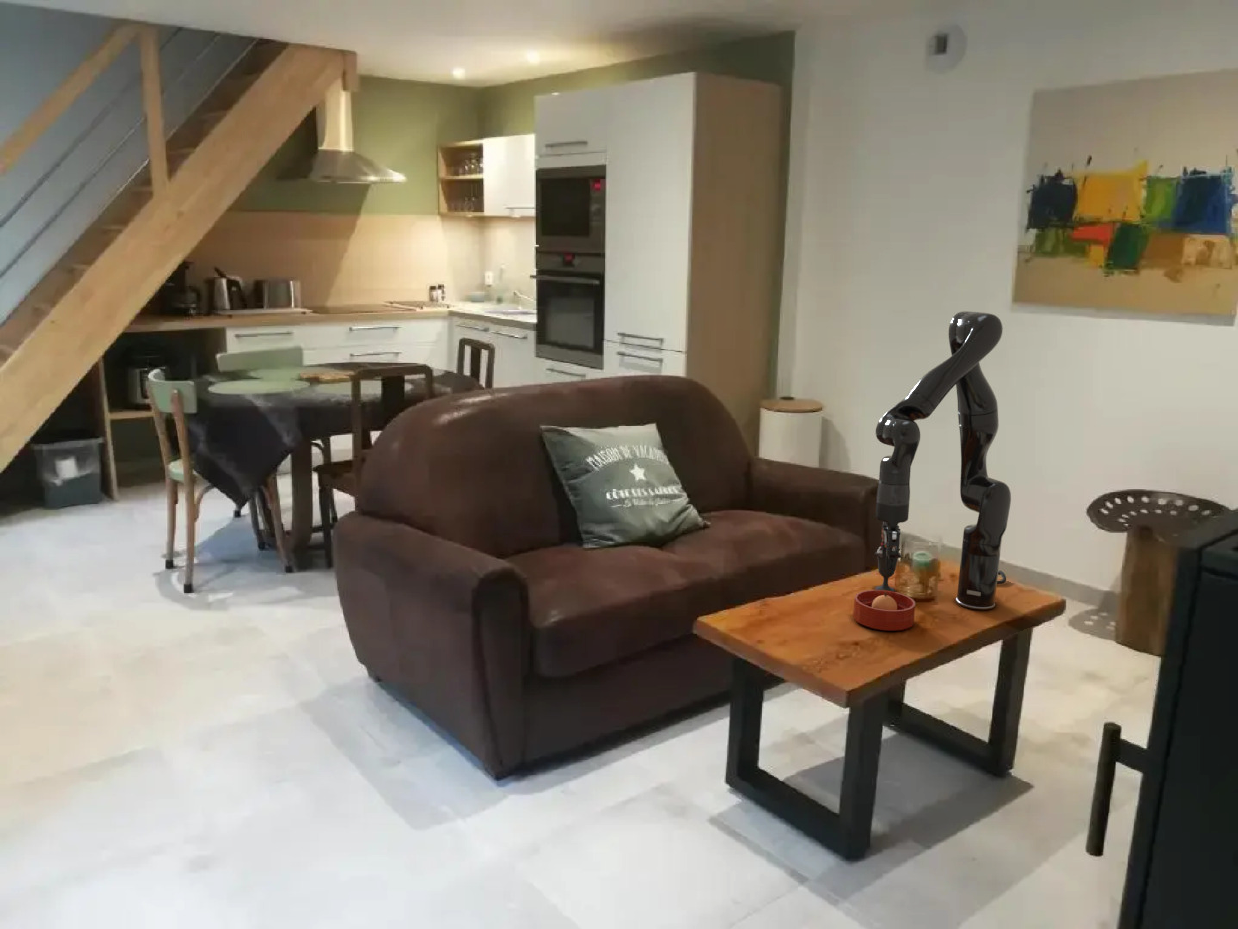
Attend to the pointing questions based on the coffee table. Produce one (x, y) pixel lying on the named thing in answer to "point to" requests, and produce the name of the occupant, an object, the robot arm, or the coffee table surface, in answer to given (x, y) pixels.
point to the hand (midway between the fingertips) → (888, 564)
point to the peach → (884, 603)
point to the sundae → (884, 569)
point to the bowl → (884, 611)
